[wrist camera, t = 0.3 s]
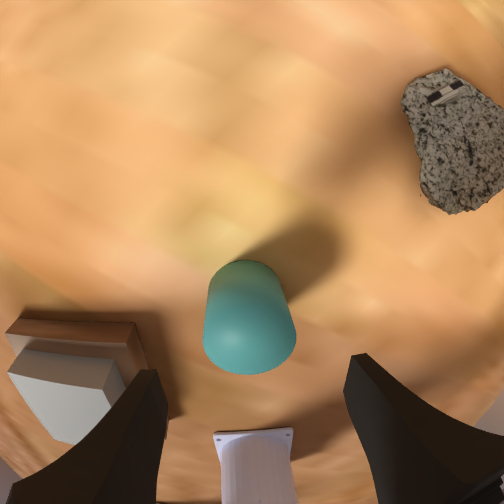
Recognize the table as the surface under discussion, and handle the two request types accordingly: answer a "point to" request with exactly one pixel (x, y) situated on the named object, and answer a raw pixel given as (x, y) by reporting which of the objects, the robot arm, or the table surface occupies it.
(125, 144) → the table surface
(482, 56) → the table surface
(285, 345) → the teal cylinder
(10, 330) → the walnut base slab
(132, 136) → the table surface
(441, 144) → the rock sample
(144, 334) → the table surface
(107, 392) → the gray top slab
